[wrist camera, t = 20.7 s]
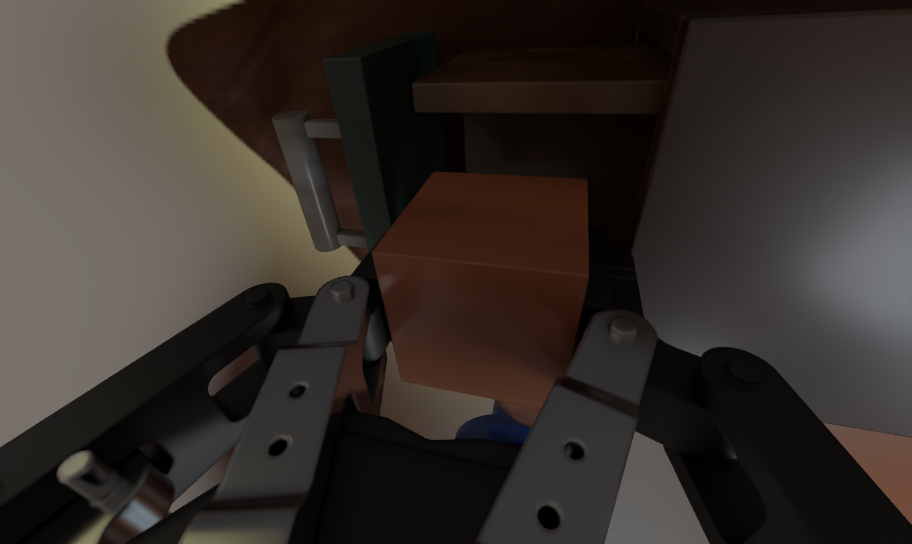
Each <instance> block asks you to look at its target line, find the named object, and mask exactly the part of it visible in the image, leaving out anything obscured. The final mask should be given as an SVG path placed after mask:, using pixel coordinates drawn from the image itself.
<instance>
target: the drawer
mask: <svg viewBox="0 0 912 544" xmlns="http://www.w3.org/2000/svg"><path fill="white" fill-rule="evenodd" d="M671 60H672V56H671V55H670V54H669V53H668V52H666V51H665V50H664V49H663V48H662V47H661V46H660V45H658V44H657V45H626V46H596V47H565V48H534V49H504V50H473V51H464V52H463V53H461V54H459V55H458V56H456V57H455V58H453V59H451V60H450V61H448V62H446V63H445V64H443V65H442V66H440V67H438V68H437V60H436V48H435V35H434V31H425V32H407V33H404V34H401V35H398V36H394V37H391V38H388V39H385V40H381V41H378V42H375V43H372V44H368V45H365V46H362V47H359V48H355V49H352V50H349V51H346V52H342V53H339V54H336V55H333V56H329V57H326V58H324V59H323V63H324V67H325V72H326V76H327V80H328V84H329V88H330V93H331V97H332V101H333V105H334V109H335V114H336V118H337V119H310V116H309V113H308V112H307V111H303V110H294V111H287V112H282V113H279V114H276V115H274V116H273V117H272V122H273V125H274V128H275V131H276V134H277V137H278V140H279V143H280V146H281V149H282V152H283V155H284V158H285V160H286V163H287V166H288V169H289V172H290V175H291V178H292V181H293V184H294V187H295V190H296V193H297V196H298V199H299V202H300V205H301V208H302V211H303V214H304V217H305V219H306V223H307V226H308V229H309V231H310V234H311V237H312V240H313V243H314V246H315V248H316V249H317V250H318V251H321V252H328V251H333V250H336V249H338V248H340V246H342V245H345V246H355V247H365V248H368V252H370V250H371V249H372V247H373V246H374V245H375V244H376V242H377V241H378V240H379V238H380V237H381V236H382V235H383V233H385V232H386V231H388V230H389V229H390V228H391V226H392V225H393V224H394V222H395V221H396V220H397V219H398V217H399V216H400V215H401V213H402V212H403V211H404V210H405V208H406V207H407V206H408V204H409V203H410V202H411V201H412V199H413V198H414V197H415V195H416V194H417V193H418V191H419V190H420V189H421V188H422V186H423V185H424V184H425V182H426V181H427V180H428V179H429V177H430V176H431V175H432V173H433V172H435V171H436V172H445V161H444V148H443V136H442V123H441V113H463V130H464V152H465V173H476V174H496V175H516V176H536V177H556V178H576V179H587V191H588V226H597V227H606V229H607V240H608V244H609V245H620V246H624V247H625V245H626V241H627V237H628V233H629V229H630V225H631V221H632V217H633V213H634V209H635V205H636V201H637V197H638V193H639V189H640V185H641V181H642V177H643V173H644V169H645V165H646V161H647V157H648V153H649V149H650V145H651V141H652V137H653V133H654V129H655V125H656V121H657V117H658V113H659V109H660V105H661V101H662V97H663V93H664V89H665V85H666V80H667V76H668V72H669V68H670V64H671ZM316 138H341V139H342V143H343V147H344V151H345V155H346V160H347V164H348V168H349V172H350V176H351V181H352V185H353V189H354V193H355V197H356V202H357V206H358V210H359V214H360V218H361V223H362V227H363V231H362V230H351V229H341V227H340V223H339V220H338V216H337V212H336V209H335V205H334V202H333V198H332V195H331V191H330V187H329V184H328V180H327V177H326V173H325V169H324V166H323V162H322V159H321V155H320V151H319V148H318V144H317V141H316Z"/></svg>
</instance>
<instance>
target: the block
mask: <svg viewBox="0 0 912 544" xmlns="http://www.w3.org/2000/svg"><path fill="white" fill-rule="evenodd" d="M372 256H373V261H374V265H375V269H376V274H377V278H378V282H379V287H380V291H381V295H382V300H383V304H384V308H385V313H386V317H387V321H388V326H389V330H390V334H391V339H392V342H393V347H394V351H395V356H396V360H397V364H398V369H399V373H400V377H401V381H403V382H408V383H414V384H419V385H424V386H429V387H435V388H439V389H444V390H450V391H455V392H460V393H465V394H470V395H475V396H481V397H486V398H491V399H496V400H501V401H506V402H511V403H517V404H522V405H527V406H532V407H537V408H542V406H543V404H544V402H545V400H546V398H547V396H548V394H549V392H550V390H551V388H552V386H553V384H554V382H555V380H556V379H557V378H558V377H561V378H562V377H563V376H564V374H565V372H566V370H567V368H568V366H569V364H570V361H571V359H572V357H573V355H574V350H575V345H576V340H577V335H578V330H579V325H580V320H581V315H582V309H583V304H584V299H585V294H586V289H587V284H588V279H589V248H588V191H587V179H576V178H556V177H536V176H516V175H496V174H476V173H456V172H436V171H435V172H433V173H432V175H431V176H430V177H429V179H428V180H427V181H426V182H425V184H424V185H423V186H422V188H421V189H420V190H419V191H418V193H417V194H416V195H415V197H414V198H413V199H412V201H411V202H410V203H409V204H408V206H407V207H406V208H405V210H404V211H403V212H402V213H401V215H400V216H399V217H398V219H397V220H396V221H395V222H394V224H393V225H392V226H391V228H390V229H389V230H388V232H387V233H386V234H385V235H384V237H383V238H382V239H381V241H380V242H379V243H378V244H377V246H376V247H375V248H374V250H373V251H372Z"/></svg>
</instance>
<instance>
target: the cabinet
mask: <svg viewBox="0 0 912 544" xmlns="http://www.w3.org/2000/svg"><path fill="white" fill-rule="evenodd" d="M657 44H658V45H660V46H661V47H662V48H663V49H664V50H665V51H666V52H668V53H669V54H670V55H671V56H672V60H671V64H670V68H669V72H668V76H667V80H666V85H665V89H664V93H663V97H662V101H661V105H660V109H659V113H658V117H657V121H656V125H655V129H654V133H653V137H652V141H651V145H650V149H649V153H648V157H647V161H646V165H645V169H644V173H643V177H642V181H641V185H640V189H639V193H638V197H637V201H636V205H635V209H634V213H633V217H632V221H631V225H630V229H629V233H628V237H627V241H626V245H625V248H626V249H627V250H628V251H629V253H630V254H631V255H632V256H633V258H634V263H635V271H636V275H637V281H638V286H639V292H640V297H641V303H642V308H643V314H644V318H645V319H646V320H647V321H649V322H650V323H651V325H652V326H653V327H654V329H655V330H656V333H657V337H658V338H659V339H661V340H662V341H664V342H666V343H667V344H669V345H671V346H674V347H676V348H678V349H681V350H684V351H687V352H689V353H692V354H695V355H697V356H700V357H701V356H702V354H703V353H704V352H705V351H707V350H709V349H711V348H714V347H733V348H738V349H742V350H745V351H748V352H750V353H752V354H754V355H756V356H758V357H760V358H762V359H763V360H765V361H766V362H768V363H769V364H770V365H771V366H773V367H774V368H775V369H776V370H777V371H778V372H779V373H780V375H781V376H782V377H783V378H784V379H785V380H786V381H787V383H788V384H789V385H790V386H791V387H792V388H793V390H794V391H795V392H796V393H797V394H798V395H799V396H800V398H801V399H802V400H803V401H804V402H805V403H806V404H807V406H808V407H809V408H810V409H811V410H812V411H813V412H814V414H815V415H816V416H817V417H818V418H819V419H820V420H821V422H823V423H828V424H834V425H840V426H846V427H852V428H858V429H864V430H870V431H876V432H881V433H887V434H894V435H899V436H905V437H911V438H912V0H640V2H639V6H638V12H637V17H636V22H635V28H634V33H633V38H632V44H631V45H657Z"/></svg>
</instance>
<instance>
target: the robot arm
mask: <svg viewBox="0 0 912 544" xmlns="http://www.w3.org/2000/svg"><path fill="white" fill-rule="evenodd" d="M387 232H388V231H386V232H385V233H383V235H382V236H381V237H380V238H379V240H378V241H377V242H376V244H375V245H374V246H373V247H372V249H371V250H370V252H369V253H368V254H367V255H366V256H365V258H364V259H363V260H362V262H361V263H360V264H359V265H358V267H357V268H356V270H355V271H354V272H353V273H352V274H351V276H343V277H338V278H335V279H333V280H331V281H329V282H327V283H326V284H324V285H323V286H322V287H321V288H320V289H319V290H318V292H317V294H316V296H306V297H296V298H290V297H289V294H288V292H287V290H286V288H285V287H284V286H283V285H281V284H278V283H265V284H260V285H256V286H254V287H251V288H249V289H247V290H245V291H243V292H242V293H241V294H239V295H237V296H236V297H234V298H233V299H231V300H230V301H228V302H226V303H225V304H223V305H222V306H220V307H219V308H217V309H215V310H214V311H212V312H211V313H209V314H208V315H206V316H204V317H203V318H201V319H200V320H198V321H197V322H195V323H194V324H192V325H190V326H189V327H187V328H186V329H184V330H183V331H181V332H180V333H178V334H176V335H175V336H173V337H172V338H170V339H169V340H167V341H165V342H164V343H162V344H161V345H159V346H158V347H156V348H155V349H153V350H151V351H150V352H148V353H147V354H145V355H144V356H142V357H141V358H139V359H137V360H136V361H134V362H133V363H131V364H130V365H128V366H126V367H125V368H123V369H122V370H120V371H119V372H117V373H116V374H114V375H112V376H111V377H109V378H108V379H107V380H105V381H103V382H101V383H100V384H98V385H97V386H96V387H94V388H92V389H91V390H89V391H87V392H86V393H84V394H83V395H81V396H80V397H78V398H77V399H75V400H74V401H72V402H70V403H69V404H67V405H66V406H64V407H63V408H61V409H59V410H58V411H56V412H55V413H53V414H52V415H50V416H49V417H47V418H45V419H44V420H42V421H41V422H39V423H38V424H36V425H34V426H33V427H31V428H30V429H28V430H27V431H25V432H24V433H22V434H20V435H19V436H17V437H16V438H14V439H13V440H11V441H9V442H8V443H6V444H5V445H3V446H2V447H0V544H604V543H605V539H606V535H607V532H608V528H609V524H610V521H611V517H612V513H613V509H614V506H615V502H616V498H617V495H618V491H619V487H620V484H621V480H622V477H623V473H624V469H625V465H626V462H627V458H628V454H629V451H630V447H631V443H632V440H633V436H634V432H635V431H636V432H638V433H640V434H642V435H644V436H646V437H648V438H650V439H653V440H655V441H657V442H659V443H661V444H663V447H664V449H665V452H666V454H667V456H668V458H669V460H670V462H671V464H672V466H673V468H674V470H675V472H676V474H677V477H678V479H679V481H680V483H681V485H682V487H683V489H684V491H685V493H686V495H687V497H688V499H689V502H690V504H691V506H692V508H693V510H694V512H695V514H696V516H697V518H698V520H699V522H700V524H701V527H702V529H703V531H704V533H705V535H706V537H707V539H708V541H709V543H710V544H912V525H911V524H910V522H909V521H908V520H907V519H906V518H905V517H904V516H903V514H902V513H901V512H900V511H899V510H898V509H897V508H896V506H895V505H894V504H893V503H892V502H891V501H890V499H889V498H888V497H887V496H886V495H885V494H884V493H883V492H882V490H881V489H880V488H879V487H878V486H877V485H876V483H874V481H873V480H872V479H871V478H870V477H869V475H868V474H867V473H866V472H865V471H864V470H863V469H862V468H861V466H860V465H859V464H858V463H857V462H856V461H855V459H854V458H853V457H852V456H851V455H850V454H849V453H848V451H847V450H846V449H845V448H844V447H843V446H842V445H841V443H840V442H839V441H838V440H837V439H836V438H835V436H834V435H833V434H832V433H831V432H830V431H829V430H828V429H827V427H826V426H825V425H824V424H823V423H822V422H821V420H820V419H819V418H818V417H817V416H816V415H815V414H814V412H813V411H812V410H811V409H810V408H809V407H808V406H807V404H806V403H805V402H804V401H803V400H802V399H801V398H800V396H799V395H798V394H797V393H796V392H795V391H794V390H793V388H792V387H791V386H790V385H789V384H788V383H787V381H786V380H785V379H784V378H783V377H782V376H781V375H780V373H779V372H778V371H777V370H776V369H775V368H774V367H773V366H771V365H770V364H769V363H768V362H766V361H765V360H763V359H762V358H760V357H758V356H756V355H754V354H752V353H750V352H748V351H745V350H742V349H738V348H733V347H714V348H711V349H709V350H707V351H705V352H704V353H703V354H702V356H701V357H700V356H697V355H695V354H692V353H689V352H687V351H684V350H681V349H678V348H676V347H674V346H671V345H669V344H667V343H666V342H664V341H662V340H661V339H659V338H658V337H657V333H656V330H655V329H654V327H653V326H652V325H651V323H650V322H649V321H647V320H646V319H645V318H644V314H643V308H642V303H641V297H640V292H639V286H638V281H637V275H636V271H635V263H634V258H633V256H632V255H631V254H630V253H629V251H628V250H627V249H626V248H625V247H624V246H620V245H609V244H608V240H607V229H606V227H597V226H588V248H589V279H588V284H587V289H586V294H585V299H584V304H583V309H582V315H581V320H580V325H579V330H578V335H577V340H576V345H575V350H574V355H573V357H572V359H571V361H570V364H569V366H568V368H567V370H566V372H565V374H564V376H563V377H562V378H561V377H558V378H557V379H556V380H555V382H554V384H553V386H552V388H551V390H550V392H549V394H548V396H547V398H546V400H545V402H544V404H543V406H542V408H541V410H540V412H539V414H538V416H537V418H536V420H535V422H534V424H533V426H532V428H531V430H530V432H529V434H528V436H527V438H526V440H525V442H524V444H523V445H519V444H509V443H500V442H495V441H491V440H486V439H454V440H429V439H426V438H424V437H422V436H420V435H419V434H417V433H415V432H413V431H411V430H409V429H407V428H405V427H404V426H402V425H400V424H398V423H396V422H394V421H393V420H391V419H389V418H386V417H381V416H380V408H381V401H382V393H383V386H384V378H385V371H386V363H387V354H386V348H387V346H388V344H389V342H390V341H392V339H391V334H390V330H389V326H388V321H387V317H386V313H385V308H384V304H383V300H382V295H381V291H380V287H379V282H378V278H377V274H376V269H375V265H374V261H373V256H372V251H373V250H374V248H375V247H376V246H377V244H378V243H379V242H380V241H381V239H382V238H383V237H384V235H385V234H386V233H387ZM250 347H252V348H253V350H254V352H255V353H256V355H257V357H258V360H257V361H256V362H255V363H253V364H252V365H251V366H250V367H248V368H247V369H246V370H245V371H243V372H242V373H241V374H240V375H238V376H237V377H236V378H235V379H234V380H232V381H231V382H230V383H228V384H227V385H226V386H225V387H223V388H222V389H221V390H220V391H218V392H217V393H216V394H214V395H213V396H210V395H209V393H208V385H209V382H210V380H211V379H212V378H213V376H214V375H215V374H217V373H218V372H219V371H220V370H222V369H223V368H224V367H226V366H227V365H228V364H229V363H231V362H232V361H233V360H235V359H236V358H237V357H239V356H240V355H241V354H242V353H244V352H245V351H247V350H248V349H249V348H250ZM236 444H237V445H236ZM235 445H236V447H235V449H234V451H233V454H232V456H231V458H230V461H229V463H228V465H227V467H226V470H225V472H224V475H223V477H222V479H221V481H220V483H219V484H217V485H216V486H214V487H213V488H211V489H209V490H208V491H206V492H204V493H203V494H201V495H200V496H198V497H197V498H195V499H194V500H192V501H190V502H189V503H187V504H186V505H184V506H182V507H181V508H179V509H178V510H176V511H175V512H173V513H171V512H170V511H169V509H170V507H171V505H172V503H173V502H174V501H175V500H176V499H177V498H178V497H180V496H181V495H182V494H183V493H184V492H185V491H186V490H187V489H188V488H189V487H190V486H191V485H193V484H194V483H195V482H196V481H197V480H198V479H199V478H200V477H201V476H202V475H203V474H204V473H205V472H207V471H208V470H209V469H210V468H211V467H212V466H213V465H214V464H215V463H216V462H217V461H218V460H219V459H220V458H221V457H223V456H224V455H225V454H226V453H227V452H228V451H229V450H230V449H231V448H232V447H233V446H235Z"/></svg>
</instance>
